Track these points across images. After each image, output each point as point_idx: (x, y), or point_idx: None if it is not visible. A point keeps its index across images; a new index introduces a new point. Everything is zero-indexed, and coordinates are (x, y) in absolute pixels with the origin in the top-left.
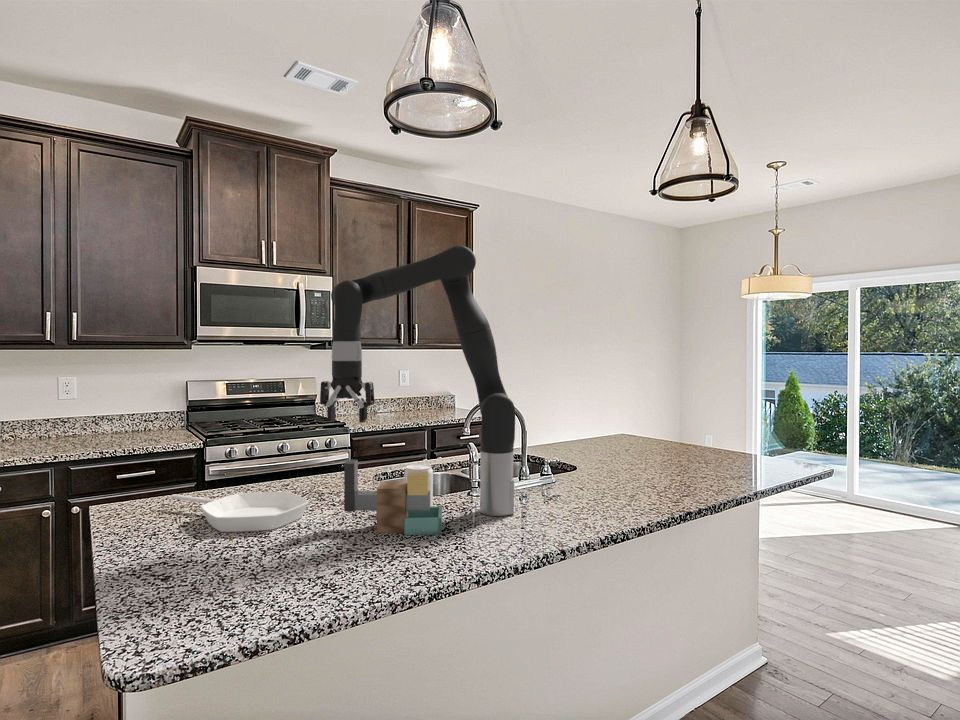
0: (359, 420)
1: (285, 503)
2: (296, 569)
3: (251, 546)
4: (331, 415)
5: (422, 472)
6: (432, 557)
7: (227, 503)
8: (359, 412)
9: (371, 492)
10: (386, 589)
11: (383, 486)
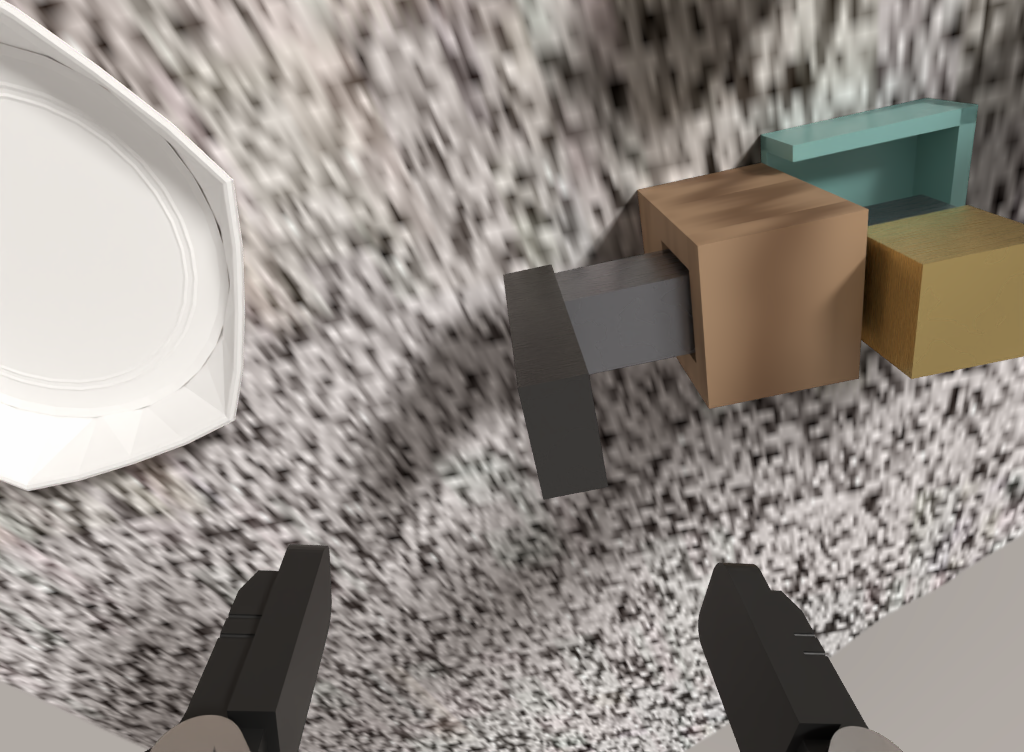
0: (707, 651)
1: (3, 31)
2: (515, 617)
3: (281, 516)
4: (313, 682)
5: (1010, 284)
6: (869, 487)
7: None
8: (743, 747)
9: (649, 316)
10: None
11: (735, 355)
